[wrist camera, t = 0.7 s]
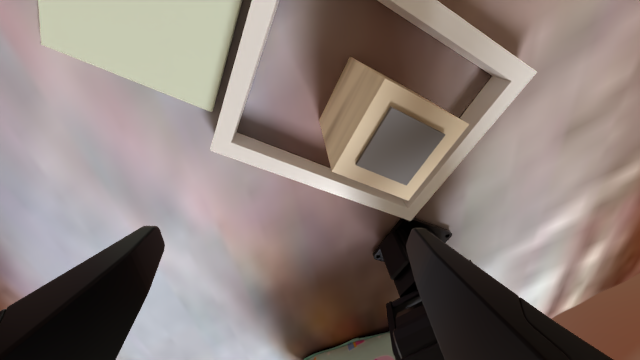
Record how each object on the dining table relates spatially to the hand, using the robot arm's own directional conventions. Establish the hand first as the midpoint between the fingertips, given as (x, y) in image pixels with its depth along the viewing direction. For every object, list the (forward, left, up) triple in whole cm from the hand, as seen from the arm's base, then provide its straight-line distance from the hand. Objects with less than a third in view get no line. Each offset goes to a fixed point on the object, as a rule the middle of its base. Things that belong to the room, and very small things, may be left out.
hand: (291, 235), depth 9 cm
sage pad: (+11, -3, -12) cm, 17 cm away
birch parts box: (-4, -3, -12) cm, 14 cm away
